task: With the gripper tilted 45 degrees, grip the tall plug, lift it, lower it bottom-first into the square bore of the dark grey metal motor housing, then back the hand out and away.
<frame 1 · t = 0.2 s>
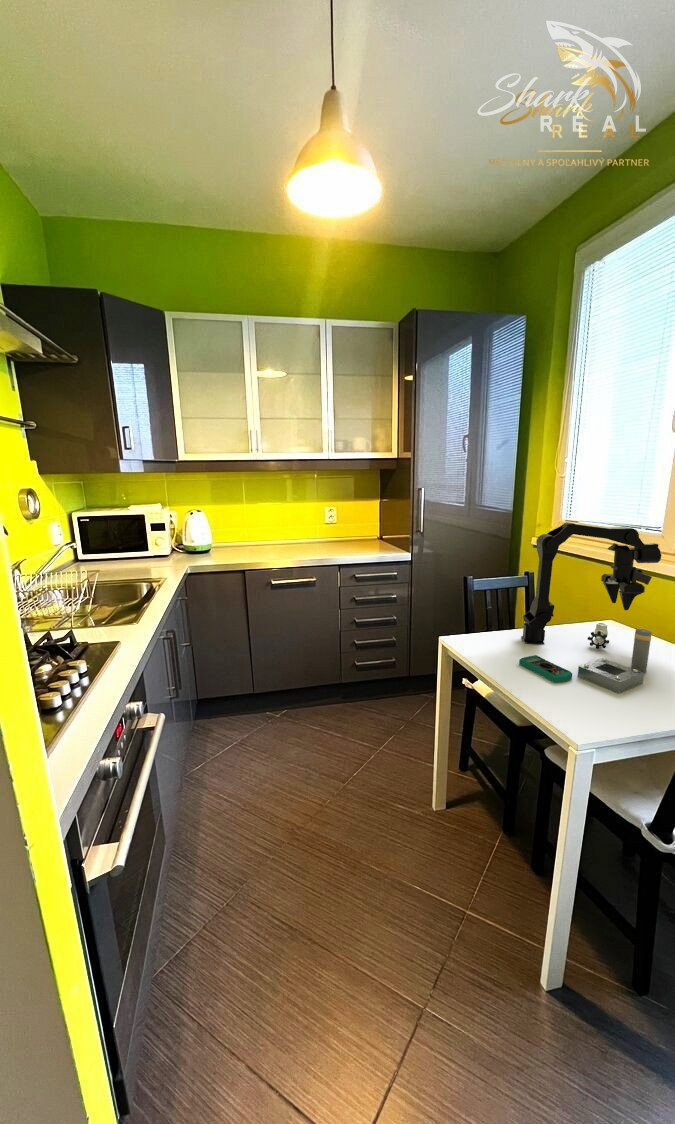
hand: (619, 606, 149), 14 cm above the table, tool pointing down, fingers open, 9 cm apart
motor housing: (609, 680, 126), on the table
plug: (638, 670, 132), on the table
valve: (598, 644, 154), on the table
digital multimeter: (544, 673, 132), on the table
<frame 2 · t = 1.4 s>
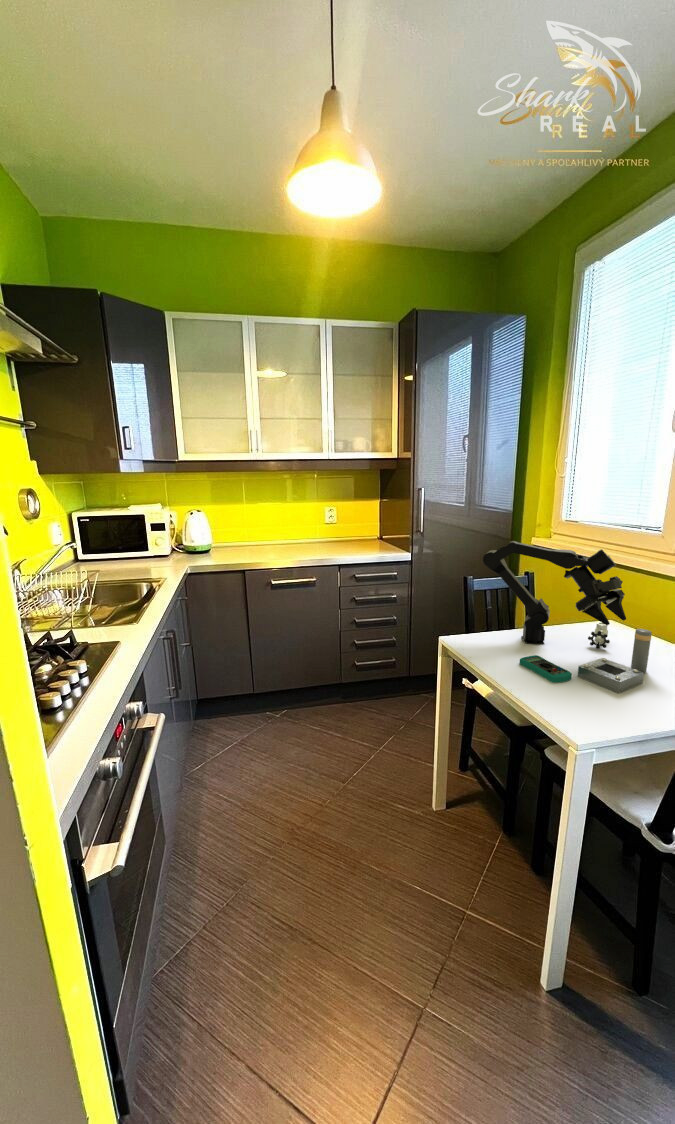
hand: (616, 622, 136), 13 cm above the table, tool tilted 45°, fingers open, 9 cm apart
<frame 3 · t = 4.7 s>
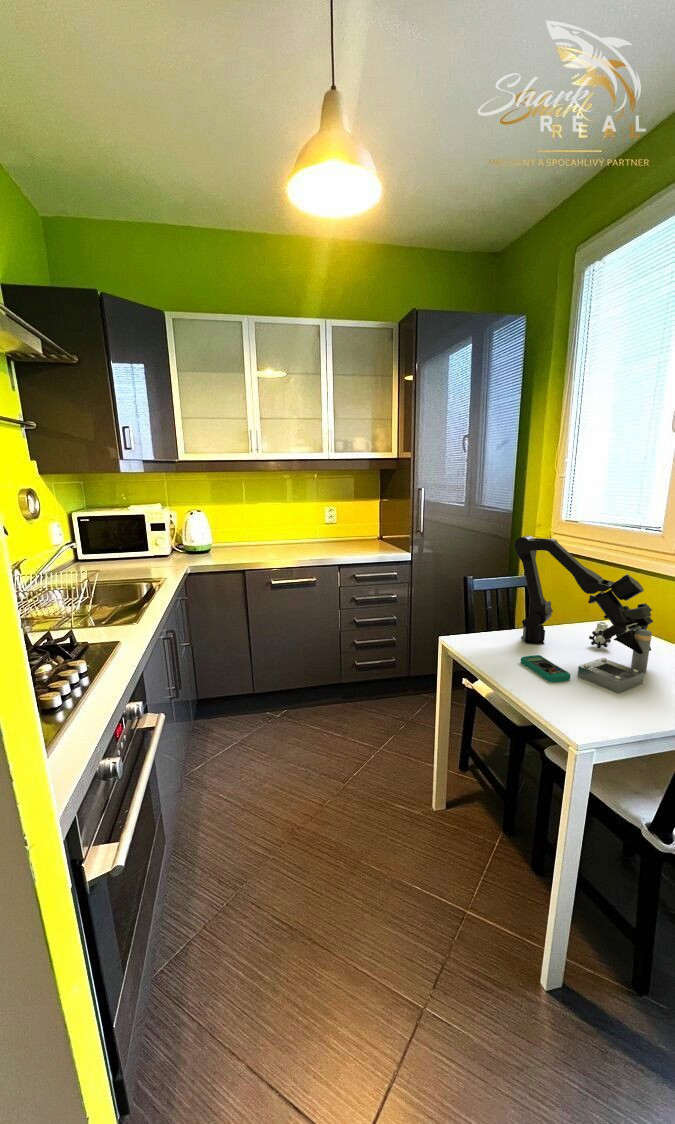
hand: (645, 652, 129), 7 cm above the table, tool tilted 45°, fingers closed on plug, 4 cm apart
plug: (638, 670, 132), on the table, touching gripper
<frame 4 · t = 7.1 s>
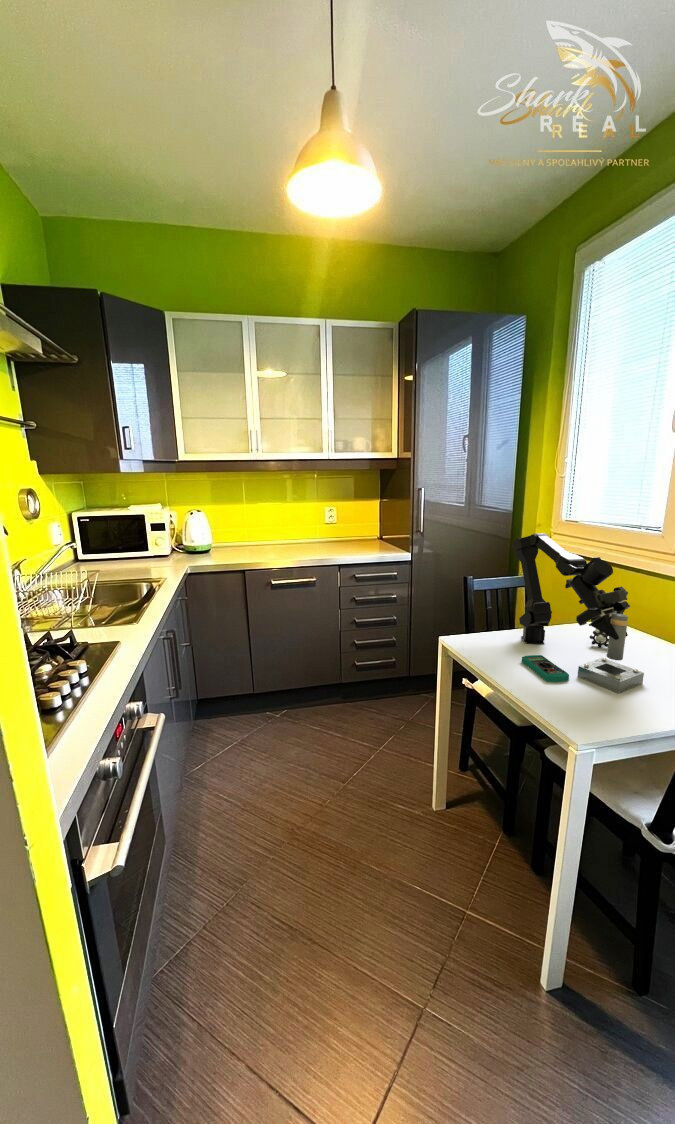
hand: (622, 637, 122), 14 cm above the table, tool tilted 45°, fingers closed on plug, 4 cm apart
plug: (614, 657, 125), point 7 cm above the table, touching gripper
when the fingers open (8 cm above the table, at t = 9.6 s): plug drops 1 cm, resting in motor housing.
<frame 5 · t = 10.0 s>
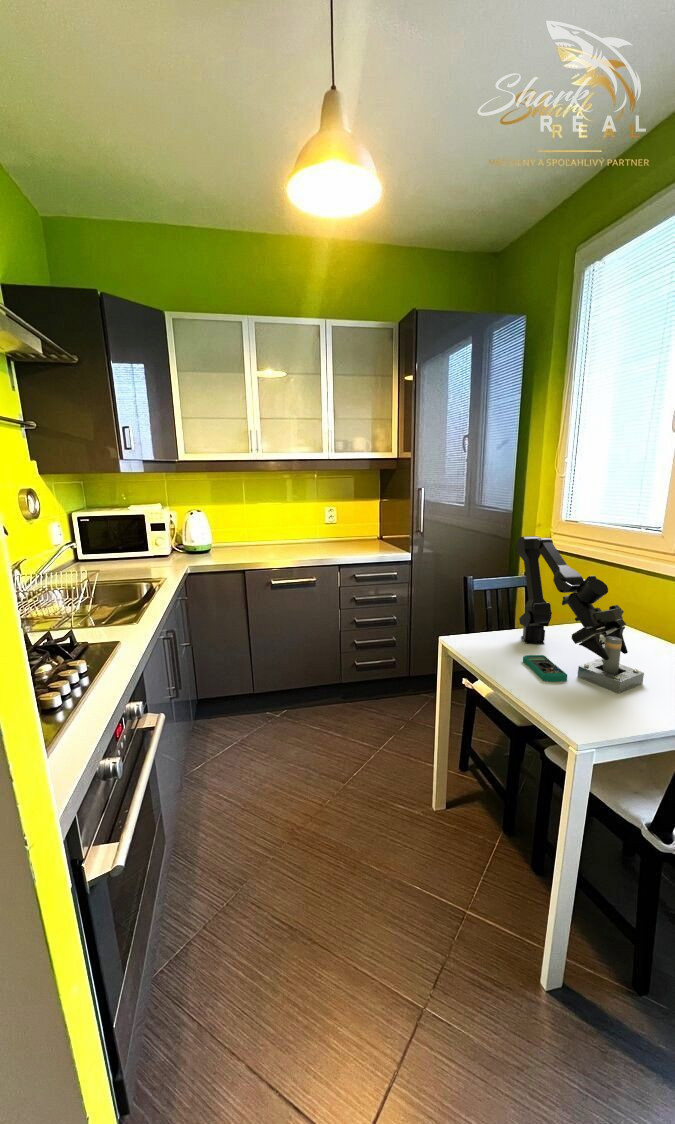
hand: (617, 656, 123), 8 cm above the table, tool tilted 45°, fingers open, 9 cm apart
plug: (609, 680, 126), resting in motor housing
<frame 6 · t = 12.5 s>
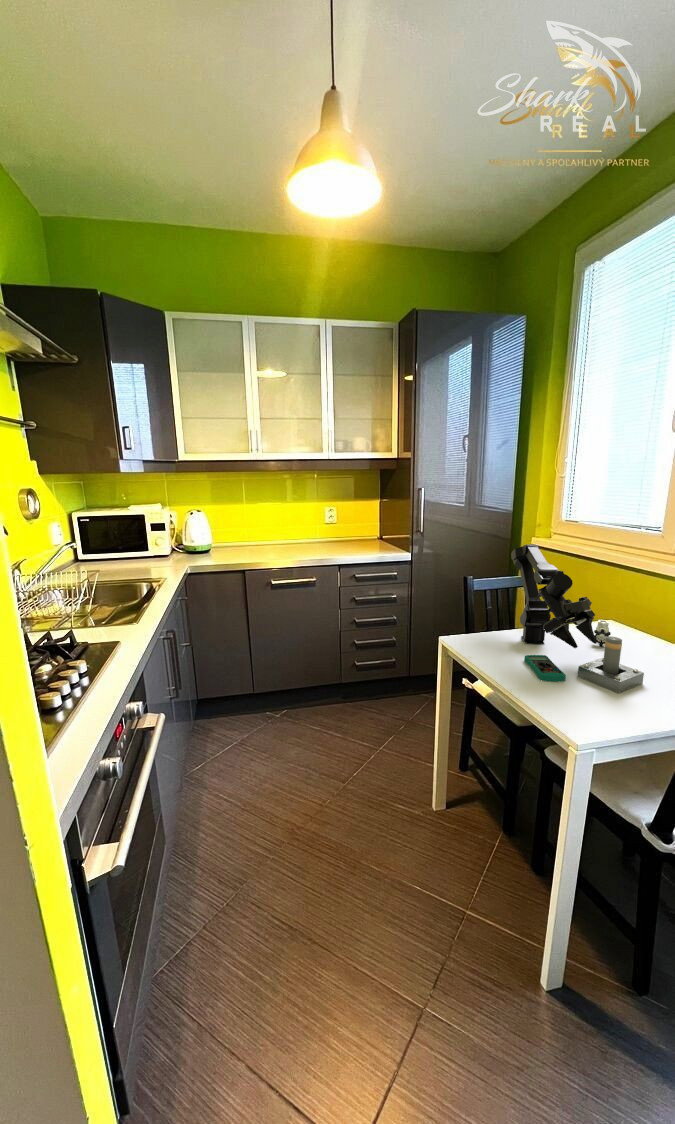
hand: (585, 644, 131), 8 cm above the table, tool tilted 45°, fingers open, 9 cm apart
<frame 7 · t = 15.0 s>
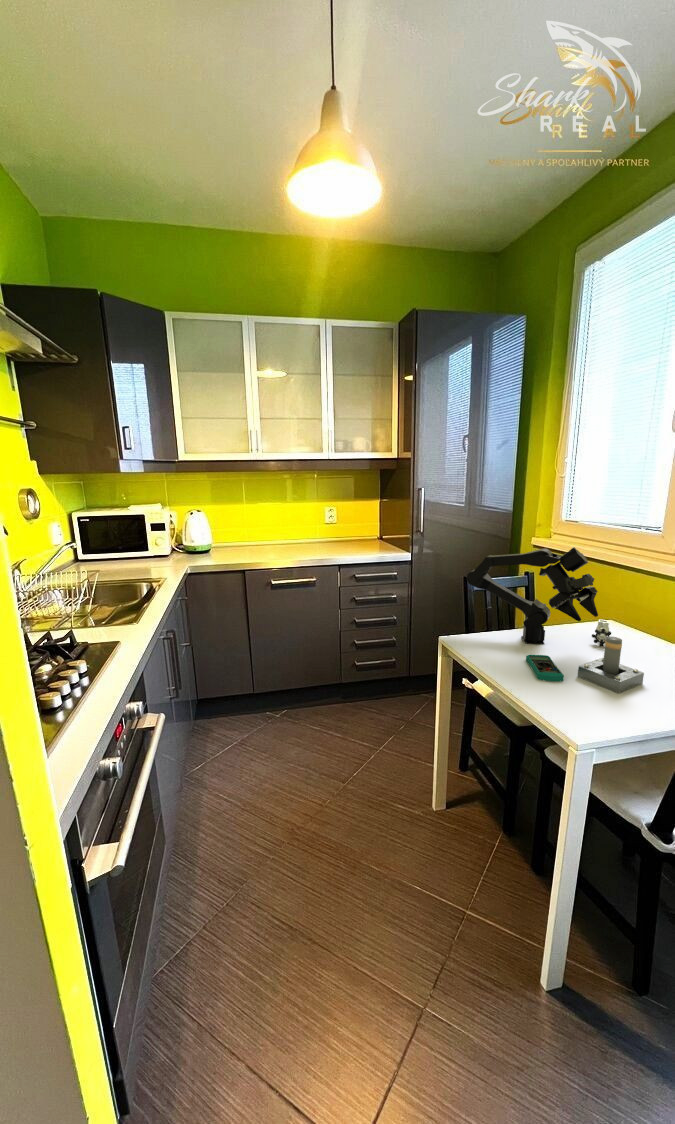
hand: (588, 618, 140), 14 cm above the table, tool tilted 45°, fingers open, 9 cm apart
at the end: plug 0.0 cm off-centre on the motor housing, point 0.0 cm above the motor housing's base; plug tilted 0°; the gripper is holding nothing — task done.
